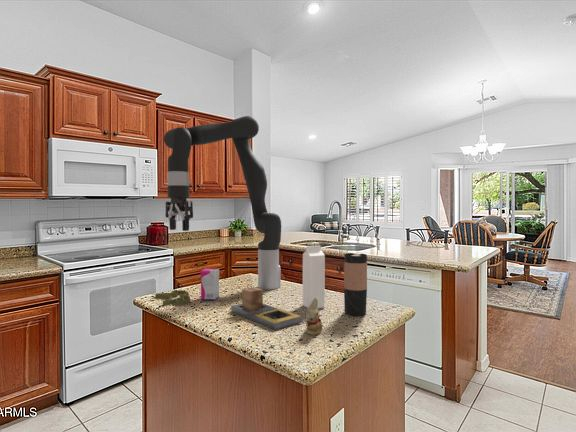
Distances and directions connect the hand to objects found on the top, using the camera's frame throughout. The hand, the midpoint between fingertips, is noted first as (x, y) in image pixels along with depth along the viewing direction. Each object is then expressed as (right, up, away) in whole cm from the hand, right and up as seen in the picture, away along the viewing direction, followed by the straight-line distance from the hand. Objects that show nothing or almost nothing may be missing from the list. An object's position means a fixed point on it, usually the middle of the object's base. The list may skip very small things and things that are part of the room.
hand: (179, 230), depth 126 cm
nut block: (+27, -28, -6) cm, 39 cm away
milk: (+48, -28, +2) cm, 56 cm away
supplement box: (+8, -28, +12) cm, 31 cm away
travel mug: (+62, -28, -6) cm, 68 cm away
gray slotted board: (+31, -28, -11) cm, 43 cm away
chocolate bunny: (+47, -29, -24) cm, 60 cm away
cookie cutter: (-5, -28, +11) cm, 30 cm away
